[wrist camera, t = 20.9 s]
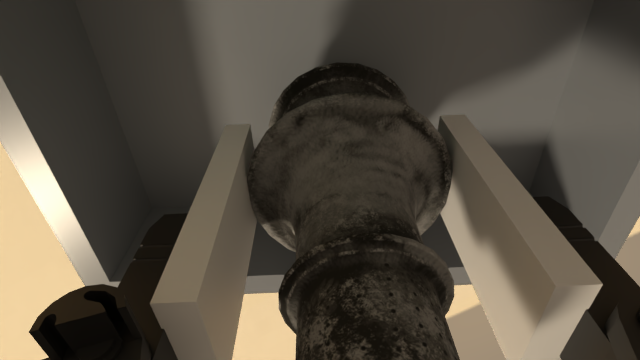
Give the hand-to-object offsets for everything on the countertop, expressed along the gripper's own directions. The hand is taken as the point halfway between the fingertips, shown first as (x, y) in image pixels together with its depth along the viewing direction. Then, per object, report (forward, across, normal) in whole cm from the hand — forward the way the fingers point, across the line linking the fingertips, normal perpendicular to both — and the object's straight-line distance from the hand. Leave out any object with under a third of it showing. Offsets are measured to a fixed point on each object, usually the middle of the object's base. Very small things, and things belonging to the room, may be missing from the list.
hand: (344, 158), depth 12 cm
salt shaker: (+2, 0, 0) cm, 2 cm away
